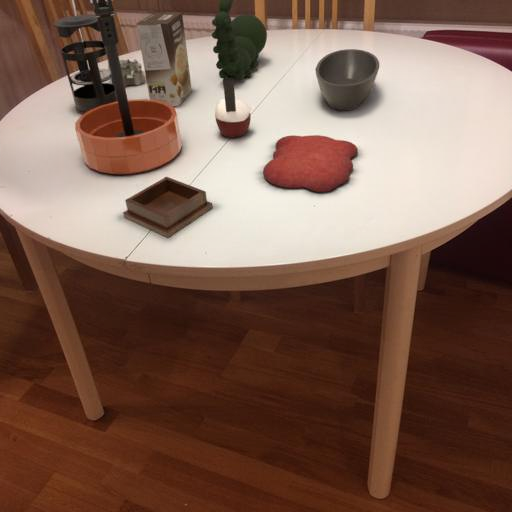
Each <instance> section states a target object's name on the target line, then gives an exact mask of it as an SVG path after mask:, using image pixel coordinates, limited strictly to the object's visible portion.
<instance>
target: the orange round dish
mask: <svg viewBox="0 0 512 512" xmlns="http://www.w3.org/2000/svg"><path fill="white" fill-rule="evenodd" d="M127 100H128V104H129V109H130V114H131V119H132V124H133V128H134V130H141V131H144V132H145V133H142V134H138V135H133V136H127V137H115V136H116V135H117V134H119V133H122V132H124V128H123V123H122V119H121V114H120V110H119V105H118V101H117V102H113V103H109V104H105V105H102V106H99V107H97V108H94V109H92V110H89V111H88V112H86V113H85V114H81V115H80V116H79V117H78V119H76V121H75V122H74V130H75V133H76V136H77V141H78V145H79V147H80V152H81V154H82V159H83V162H84V163H85V164H86V165H87V166H88V168H90V169H93V170H94V171H97V172H101V173H105V174H107V175H108V174H109V175H134V174H140V173H145V172H148V171H151V170H155V169H157V168H159V167H162V166H163V165H165V164H167V163H169V162H170V161H171V160H173V159H174V158H175V157H176V156H177V155H178V154H179V153H180V151H181V149H182V146H183V145H182V137H181V132H180V131H181V130H180V125H179V124H180V123H179V118H178V113H177V110H176V108H175V106H171V105H170V104H168V103H165V102H162V101H158V100H150V99H148V98H147V99H146V98H140V99H139V98H137V99H135V98H134V99H127Z"/></svg>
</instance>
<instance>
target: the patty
mask: <svg viewBox="0 0 512 512" xmlns="http://www.w3.org/2000/svg"><path fill="white" fill-rule="evenodd" d="M275 149H276V150H275V151H274V152H272V153H273V154H272V159H271V160H269V162H267V163H266V164H265V165H264V166H263V170H262V175H263V177H264V179H265V180H266V181H267V182H269V183H270V184H272V185H274V186H277V187H281V188H287V189H296V188H297V189H298V188H299V189H300V188H305V189H308V190H310V191H313V192H318V193H322V192H323V193H325V192H331V191H333V190H334V189H335V188H337V187H338V186H341V185H343V184H346V182H348V180H349V179H350V173H351V172H352V171H353V170H354V163H353V162H352V160H351V159H352V158H354V157H356V156H357V154H358V147H357V145H356V144H354V143H353V142H351V141H348V140H344V139H343V140H342V139H334V138H333V137H329V136H327V135H326V136H325V135H320V134H319V135H318V134H317V135H314V134H313V135H304V136H302V135H286V136H282V137H281V138H279V139H278V140H277V141H276V143H275Z"/></svg>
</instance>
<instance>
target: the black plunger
mask: <svg viewBox="0 0 512 512" xmlns="http://www.w3.org/2000/svg"><path fill="white" fill-rule="evenodd" d="M106 51H107V54H106V56H107V55H108V58H107V61H108V60H109V64H110V69H111V73H112V77H111V79H112V78H113V81H112V83H113V82H114V87H115V92H116V96H117V101H118V105H119V110H120V114H121V119H122V123H123V128H124V132H122V133H119V134H117V135H116V136H115V137H127V136H133V135H138V134H142V133H145V132H144V131H141V130H134V128H133V124H132V119H131V114H130V109H129V104H128V100H129V99H128V95H127V91H126V87H125V85H124V80H123V76H122V71H121V66H120V61H119V60H120V56H119V53H118V47H117V44H116V45H109V46H106Z"/></svg>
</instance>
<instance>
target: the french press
mask: <svg viewBox="0 0 512 512" xmlns="http://www.w3.org/2000/svg"><path fill="white" fill-rule="evenodd" d="M71 3H72V7H73V10H74V15H72V16H67V17H63V18H59V19H57V20H55V21H54V22H53V27H55V28H56V29H57V33H58V36H59V37H60V38H63V39H67V38H71V36H72V35H74V33H75V32H77V31H79V36H80V40H78V41H77V40H76V41H73V42H72V43H69V44H66V45H65V46H62V47H61V48H60V53H61V57H62V60H63V64H64V69H65V72H66V76H67V79H68V83H69V87H70V90H71V94H72V98H73V102H74V105H75V107H74V109H75V111H76V113H78V114H81V115H83V114H85V113H86V112H88V111H89V110H92V109H94V108H97V107H99V106H102V105H105V104H109V103H113V102H117V96H116V92H115V87H114V82H113V78H112V73H111V69H110V70H109V69H107V68H99V67H100V66H99V63H98V58H102V57H104V56H106V58H107V64H108V63H109V60H108V55H107V51H106V46H105V45H104V44H103V41H102V40H84V38H83V36H84V35H83V33H82V28H91V29H92V30H94V31H96V32H99V33H101V32H100V28H99V24H98V19H97V17H96V16H95V14H79V15H78V12H77V7H76V3H75V0H71ZM88 48H89V49H91V48H98V49H97V50H93V51H88V52H87V49H88ZM71 52H74V53H71ZM67 61H69V62H77V67H78V70H79V71H78V72H76V73H74V74H72V75H71V74H70V70H69V67H68V63H67ZM109 67H110V64H109ZM110 79H111V80H112V83H110V82H107V81H109V80H110ZM73 85H76V86H80V87H78V88H76V89H74V86H73Z"/></svg>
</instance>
